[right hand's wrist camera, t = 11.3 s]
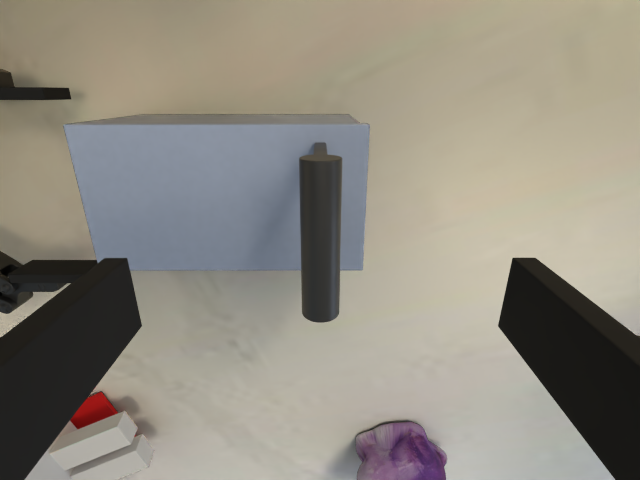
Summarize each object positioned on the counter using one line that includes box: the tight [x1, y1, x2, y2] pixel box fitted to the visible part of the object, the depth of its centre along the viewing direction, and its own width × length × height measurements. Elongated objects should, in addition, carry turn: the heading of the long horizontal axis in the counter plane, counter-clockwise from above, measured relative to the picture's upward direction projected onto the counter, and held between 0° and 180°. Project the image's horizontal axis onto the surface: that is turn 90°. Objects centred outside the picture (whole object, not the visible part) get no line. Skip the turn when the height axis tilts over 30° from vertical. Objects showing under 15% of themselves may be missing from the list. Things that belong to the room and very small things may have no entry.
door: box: [63, 123, 370, 322], centre depth 20 cm, size 18×10×8 cm, turn 90°
